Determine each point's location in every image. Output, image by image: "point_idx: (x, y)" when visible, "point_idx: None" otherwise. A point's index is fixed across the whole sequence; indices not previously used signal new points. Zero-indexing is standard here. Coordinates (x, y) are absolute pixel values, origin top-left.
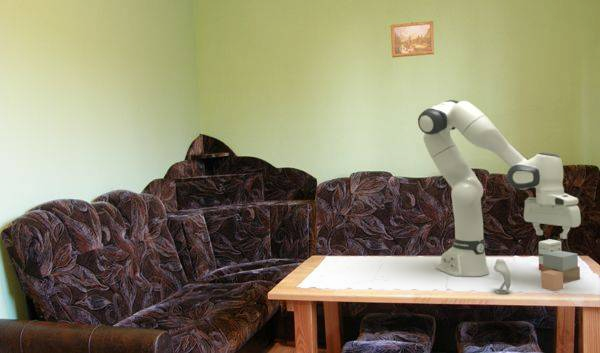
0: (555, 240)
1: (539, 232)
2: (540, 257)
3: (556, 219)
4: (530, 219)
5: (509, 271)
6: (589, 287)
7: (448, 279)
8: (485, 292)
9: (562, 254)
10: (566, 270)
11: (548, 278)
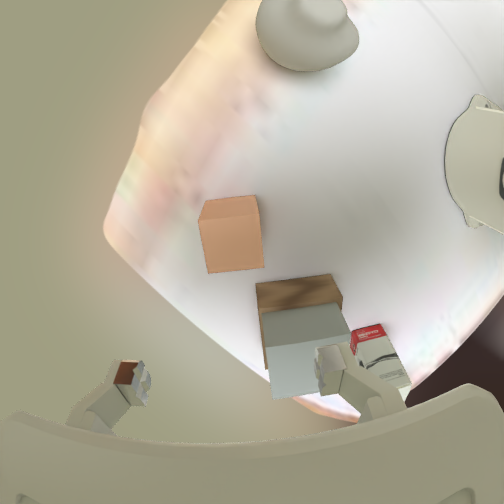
0: None
1: (321, 361)
2: (388, 350)
3: (101, 483)
4: (436, 421)
5: (276, 39)
6: (192, 309)
7: (462, 57)
8: None
9: (296, 370)
10: (260, 324)
11: (223, 210)
